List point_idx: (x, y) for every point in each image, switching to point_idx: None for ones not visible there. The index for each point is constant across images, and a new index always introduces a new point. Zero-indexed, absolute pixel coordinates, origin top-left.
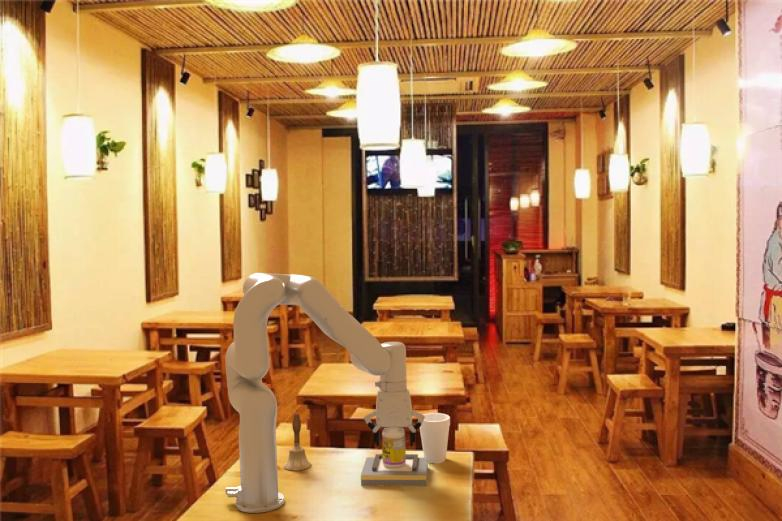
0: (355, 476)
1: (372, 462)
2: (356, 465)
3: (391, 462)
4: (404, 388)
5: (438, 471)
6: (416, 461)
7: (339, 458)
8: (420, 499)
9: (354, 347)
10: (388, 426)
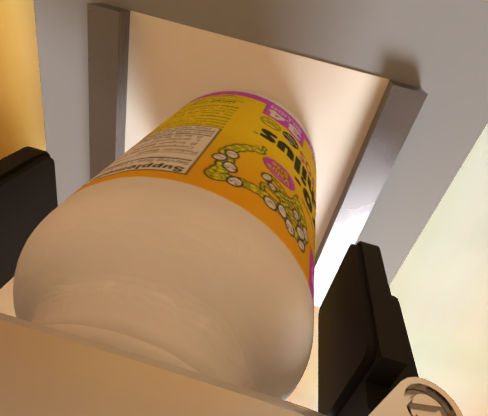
0: (474, 179)
1: (364, 235)
2: (408, 307)
3: (263, 103)
4: None
5: (30, 131)
6: (92, 131)
7: (453, 389)
8: None
9: None
10: (191, 378)
